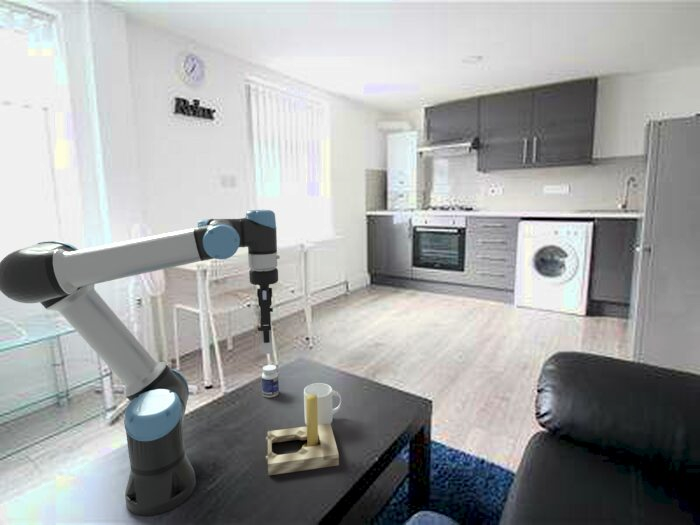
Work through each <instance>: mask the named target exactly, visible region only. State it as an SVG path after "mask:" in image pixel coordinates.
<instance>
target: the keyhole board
mask: <svg viewBox="0 0 700 525" xmlns="http://www.w3.org/2000/svg"><path fill="white" fill-rule="evenodd" d="M332 427H333V426H332V423H331V424H322V425H318V442H320V445H318V446H310V447H303V448H302V447H301V448H300V449H299V450H297V452H291V453H289V452H288V453H284V454H277V453H274V452H273V444H275V443H282V442H283V443H284V442H292V441H297V440H298V441H299V440H300V441H306V440H307V425H305V426H299V427H293V428H291V427H290V428H284V429H274V430H268V431H267V436H266V437H265V442H267V455H265V461H266V462H267V471H268V472H267V474H268V475H267V476H273V475H280V474H288V473H295V472H300V471H308V470H315V469H323V468H330V467H335V466H339V465H340V455H339V449H338V446H337V443H336V439H335V435H334V432H333V428H332Z"/></svg>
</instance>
